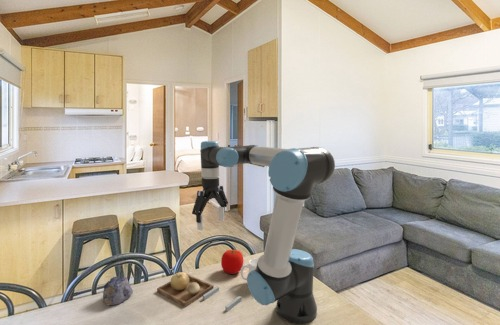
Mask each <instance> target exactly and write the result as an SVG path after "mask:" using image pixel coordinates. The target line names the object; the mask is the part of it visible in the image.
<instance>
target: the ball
mask: <svg viewBox="0 0 500 325" xmlns="http://www.w3.org/2000/svg"><path fill="white" fill-rule="evenodd" d="M187 290H188V293H189V294H190V295H196V294H198V292H199V290H200V286H199V284H198V283H196V282H192V283H190V284H189V286H188V289H187Z"/></svg>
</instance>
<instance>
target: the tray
mask: <svg viewBox="0 0 500 325" xmlns="http://www.w3.org/2000/svg"><path fill="white" fill-rule="evenodd" d="M186 274H187V275H188V277H189V284H190V283H192V282H196V283H198V284H199V286H200V290H199V292H198V294H196V295H190V294H189V293H188V290H187V289H188V286H189V284H188V286H187V287H186V288H184V289H182V290H175V289H173V288H172V286H171V283H170V281H168V282H166V283H165V284H163V285H161V286H159V287H157V288H156V292H157V293H159V294H160V295H162V296H164V297H166V298H168V299H170V300H171V301H173V302H175V303H177V304H179V305H181V306H182V307H184V308H186V307H188V306H190V305H192V304H193V303H195V302H196V301H198V300H199V299H200V298H203V295H204V294H206V293H207V292H209V291H210V290H212V289H213V288H215V287H214V286H215V285H213V284H210V283H208V282H206V281H204V280H202V279H199V278H197V277H195V276H192V275H190V274H188V273H186Z"/></svg>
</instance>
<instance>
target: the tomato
mask: <svg viewBox="0 0 500 325" xmlns="http://www.w3.org/2000/svg"><path fill="white" fill-rule="evenodd" d="M243 265H244V256H243V254H242V252H241V251H240V250H238V249H228V250H226V251H224V252H223V253H222V256H221V268H222V269H223V272H224V273H227V274H231V275H234V274H237V273H239V272H241V268H242V266H243Z"/></svg>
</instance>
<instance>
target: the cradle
mask: <svg viewBox="0 0 500 325" xmlns="http://www.w3.org/2000/svg"><path fill="white" fill-rule="evenodd" d="M219 291H220V287H219V286H215V287H214V288H213V289H212V290H210V291H209V292H207V293H206V294H204V295H203V296H202V300H204V301H207V300H208V299H209V298H210V297H212V296H213V295H215V294H216V293H218V292H219ZM240 302H242V296H240V295H238V296H236V298H235V299H233V300H231V301H230V302H229V303H228V304H226V305H225V307H224V308H225V309H224V310H225V311H226V312H229V311H231V310H232V309H233V308H234V307H235V306H237V305H238V304H240Z"/></svg>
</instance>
